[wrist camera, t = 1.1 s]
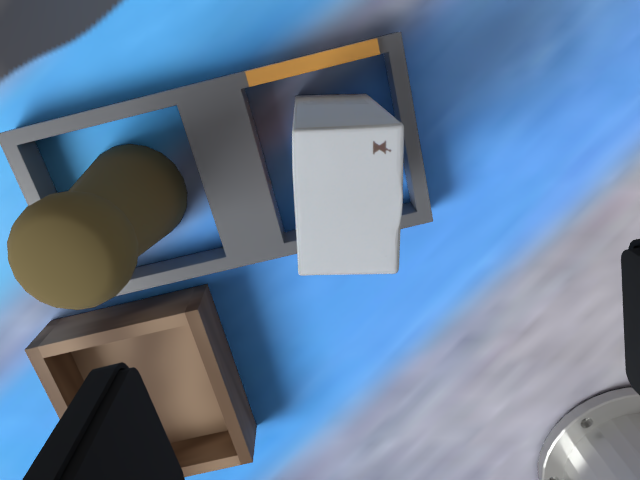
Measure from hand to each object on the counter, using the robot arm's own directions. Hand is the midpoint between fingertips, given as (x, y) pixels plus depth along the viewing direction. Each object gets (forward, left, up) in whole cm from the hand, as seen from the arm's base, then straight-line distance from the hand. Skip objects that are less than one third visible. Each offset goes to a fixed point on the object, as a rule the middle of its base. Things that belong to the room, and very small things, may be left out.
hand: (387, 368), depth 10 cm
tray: (+15, +12, -23) cm, 30 cm away
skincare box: (0, 0, -23) cm, 23 cm away
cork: (+12, 0, -23) cm, 26 cm away
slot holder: (+6, 0, -23) cm, 23 cm away
